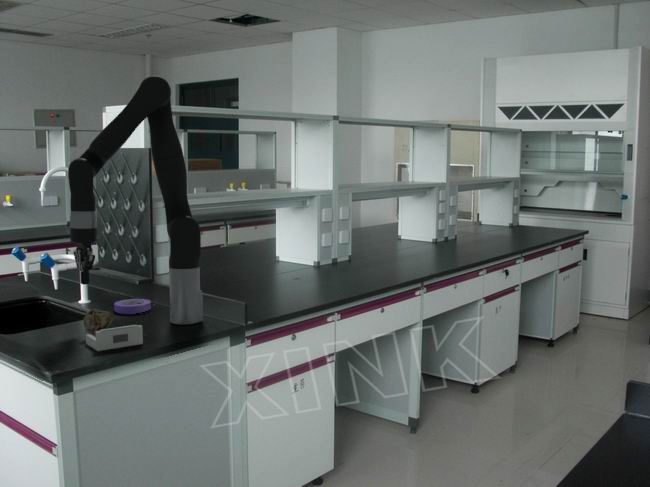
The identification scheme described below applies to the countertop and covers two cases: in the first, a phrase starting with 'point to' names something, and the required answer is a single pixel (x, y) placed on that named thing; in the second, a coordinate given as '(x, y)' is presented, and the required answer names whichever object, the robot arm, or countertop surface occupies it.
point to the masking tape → (132, 306)
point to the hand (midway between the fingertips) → (84, 283)
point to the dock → (116, 337)
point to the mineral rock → (97, 320)
